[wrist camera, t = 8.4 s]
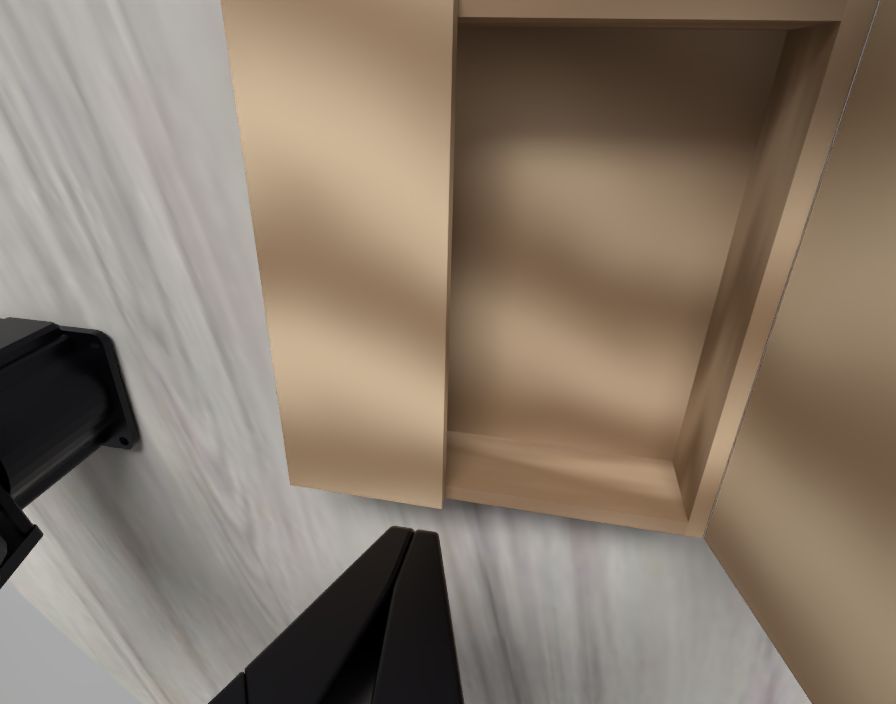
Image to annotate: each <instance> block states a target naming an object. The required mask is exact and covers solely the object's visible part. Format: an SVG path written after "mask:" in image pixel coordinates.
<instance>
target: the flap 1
mask: <svg viewBox="0 0 896 704" xmlns="http://www.w3.org/2000/svg"><path fill="white" fill-rule="evenodd" d="M221 6H222V13H223V20H224V27H225V34H226V41H227V48H228V55H229V62H230V69H231V76H232V83H233V90H234V97H235V103H236V110H237V117H238V124H239V131H240V138H241V145H242V152H243V159H244V166H245V173H246V180H247V187H248V194H249V201H250V208H251V215H252V222H253V229H254V236H255V243H256V250H257V257H258V264H259V271H260V277H261V284H262V291H263V298H264V305H265V312H266V319H267V326H268V333H269V340H270V347H271V354H272V361H273V368H274V375H275V382H276V389H277V396H278V403H279V410H280V417H281V424H282V431H283V438H284V445H285V451H286V458H287V465H288V472H289V479H290V485H294V486H300V487H306V488H313V489H319V490H325V491H331V492H338V493H344V494H350V495H356V496H363V497H369V498H375V499H381V500H387V501H394V502H400V503H406V504H412V505H419V506H425V507H431V508H437V509H442V507H443V503H444V500H445V483H446V444H447V406H448V368H449V330H450V292H451V254H452V216H453V178H454V140H455V102H456V64H457V26H458V0H221Z"/></svg>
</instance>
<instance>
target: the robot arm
mask: <svg viewBox="0 0 896 704" xmlns="http://www.w3.org/2000/svg"><path fill="white" fill-rule="evenodd" d="M96 341H97V342H98V343H97V342H96ZM137 443H138V435H137V432H136V429H135V425H134V422H133V418H132V415H131V412H130V408H129V405H128V401H127V398H126V395H125V391H124V388H123V385H122V381H121V378H120V374H119V371H118V368H117V364H116V361H115V357H114V354H113V351H112V347H111V344H110V341H109V339H108V337H107V336H106V334H105V333H103V332H102V331H99V330H93V329H84V328H76V327H67V326H59V325H58V324H55V323H53V322H46V321H37V320H28V319H20V318H11V317H9V318H6V319H0V589H1V588H2V586H3V585H4V584H5V583H6V581H7V580H8V579H9V578H10V576H11V575H12V574H13V573H14V571H15V570H16V569H17V568H18V566H19V565H20V564H21V563H22V561H23V560H24V559H25V558H26V556H27V555H28V554H29V553H30V551H31V550H32V549H33V548H34V546H35V545H36V544H37V543H38V541H39V540H40V539H41V538H42V536H43V533H42V532H41V530H40V529H39V528H38V526H37V525H35V524H34V525H33V524H32V523H31V521H30V520H29V519H28V518H27V516H26V515H25V514H24V512H23V511H22V509H24V508H25V507H26V506H27V505H29V504H30V503H31V502H32V501H34V500H35V499H36V498H37V497H39V496H40V495H41V494H42V493H44V492H45V491H46V490H47V489H49V488H50V487H51V486H52V485H53V484H55V483H56V482H57V481H58V480H60V479H61V478H62V477H63V476H65V475H66V474H67V473H68V472H70V471H71V470H72V469H73V468H75V467H76V466H77V465H78V464H80V463H81V462H82V461H83V460H85V459H86V458H87V457H88V456H90V455H91V454H92V453H93V452H95V451H96V450H97V449H98V448H100V447H101V446H102V445H103V446H109V447H115V448H122V449H131V448H132V447H134V446H135V445H136V444H137ZM208 704H464V697H463V691H462V684H461V678H460V671H459V665H458V658H457V651H456V645H455V638H454V632H453V625H452V619H451V612H450V606H449V599H448V593H447V586H446V580H445V573H444V566H443V560H442V553H441V547H440V540H439V535H438V533H436V532H432V531H425V530H416V531H414V530H413V529H412V528H406V527H400V526H392V527H390V528H389V529H388V530H387V531H386V532H385V533H384V534H383V535H382V536H381V537H380V538H379V539H378V540H377V541H376V542H375V543H374V544H373V545H371V546H370V547H369V548H368V549H367V550H366V551H365V552H364V553H363V554H362V555H361V556H360V557H359V558H358V559H357V560H356V561H355V562H354V563H353V564H352V565H351V566H350V567H349V568H348V569H347V570H346V571H345V572H344V573H343V574H342V575H341V576H340V577H339V578H338V579H337V580H335V581H334V582H333V583H332V584H331V585H330V586H329V587H328V588H327V589H326V590H325V591H324V592H323V593H322V594H321V595H320V596H319V597H318V598H317V599H316V600H315V601H314V602H313V603H312V604H311V605H310V606H309V607H308V608H307V609H306V610H305V611H304V612H303V613H302V614H301V615H299V616H298V617H297V618H296V619H295V620H294V621H293V622H292V623H291V624H290V625H289V626H288V627H287V628H286V629H285V630H284V631H283V632H282V633H281V634H280V635H279V636H278V637H277V638H276V639H275V640H274V641H273V642H272V643H271V644H270V645H269V646H268V647H267V648H266V649H265V650H263V651H262V652H261V653H260V654H259V655H258V656H257V657H256V658H255V659H254V660H253V661H252V662H251V663H250V664H249V665H248V666H247V667H246V668H245V673H244V672H241V673H239V674H238V675H237V676H236V677H235V678H234V679H233V680H232V681H231V682H230V683H229V684H228V685H227V686H226V687H225V688H224V689H223V690H222V691H221V692H220V693H219V694H218V695H217V696H216V697H214V698H213V699H212V700H211V701H210V702H209V703H208Z"/></svg>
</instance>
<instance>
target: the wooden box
mask: <svg viewBox="0 0 896 704" xmlns="http://www.w3.org/2000/svg"><path fill="white" fill-rule="evenodd" d="M878 1H879V0H458V26H457V64H456V102H455V140H454V178H453V216H452V254H451V292H450V330H449V368H448V406H447V444H446V483H445V498H448V499H454V500H461V501H467V502H474V503H480V504H486V505H493V506H499V507H506V508H512V509H518V510H525V511H531V512H537V513H544V514H550V515H557V516H563V517H569V518H576V519H582V520H588V521H595V522H601V523H608V524H614V525H620V526H627V527H633V528H640V529H646V530H652V531H659V532H665V533H671V534H678V535H684V536H691V537H697V538H703V536H704V533H705V530H706V527H707V523H708V520H709V517H710V514H711V511H712V508H713V505H714V502H715V499H716V496H717V493H718V490H719V487H720V484H721V481H722V478H723V475H724V472H725V468H726V465H727V462H728V459H729V456H730V453H731V450H732V447H733V444H734V441H735V438H736V435H737V432H738V429H739V426H740V423H741V420H742V417H743V413H744V410H745V407H746V404H747V401H748V398H749V395H750V392H751V389H752V386H753V383H754V380H755V377H756V374H757V371H758V368H759V365H760V361H761V358H762V355H763V352H764V349H765V346H766V343H767V340H768V337H769V334H770V331H771V328H772V325H773V322H774V319H775V316H776V313H777V310H778V306H779V303H780V300H781V297H782V294H783V291H784V288H785V285H786V282H787V279H788V276H789V273H790V270H791V267H792V264H793V261H794V258H795V254H796V251H797V248H798V245H799V242H800V239H801V236H802V233H803V230H804V227H805V224H806V221H807V218H808V215H809V212H810V209H811V206H812V203H813V199H814V196H815V193H816V190H817V187H818V184H819V181H820V178H821V175H822V172H823V169H824V166H825V163H826V160H827V157H828V154H829V151H830V148H831V144H832V141H833V138H834V135H835V132H836V129H837V126H838V123H839V120H840V117H841V114H842V111H843V108H844V105H845V102H846V99H847V96H848V92H849V89H850V86H851V83H852V80H853V77H854V74H855V71H856V68H857V65H858V62H859V59H860V56H861V53H862V50H863V47H864V44H865V41H866V37H867V34H868V31H869V28H870V25H871V22H872V19H873V16H874V13H875V10H876V7H877V4H878Z"/></svg>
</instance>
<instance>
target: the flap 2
mask: <svg viewBox="0 0 896 704" xmlns="http://www.w3.org/2000/svg"><path fill="white" fill-rule="evenodd" d="M704 539H705V541H706V542H707V544H708V545H709V547H710V548H711V550H712V552H713V553H714V555H715V556H716V558H717V559H718V561H719V562H720V564H721V565H722V567H723V568H724V570H725V571H726V573H727V574H728V576H729V577H730V579H731V581H732V582H733V584H734V585H735V587H736V588H737V590H738V591H739V593H740V594H741V596H742V597H743V599H744V600H745V602H746V603H747V605H748V607H749V608H750V610H751V611H752V613H753V614H754V616H755V617H756V619H757V620H758V622H759V623H760V625H761V626H762V628H763V629H764V631H765V632H766V634H767V636H768V637H769V639H770V640H771V642H772V643H773V645H774V646H775V648H776V649H777V651H778V652H779V654H780V655H781V657H782V658H783V660H784V661H785V663H786V665H787V666H788V668H789V669H790V671H791V672H792V674H793V675H794V677H795V678H796V680H797V681H798V683H799V684H800V686H801V687H802V689H803V691H804V692H805V694H806V695H807V697H808V698H809V700H810V701H811V703H812V704H896V0H881V1H880V4H879V7H878V10H877V13H876V16H875V19H874V23H873V26H872V29H871V32H870V35H869V38H868V41H867V44H866V47H865V50H864V53H863V56H862V59H861V62H860V65H859V68H858V71H857V74H856V77H855V80H854V83H853V86H852V89H851V92H850V96H849V99H848V102H847V105H846V108H845V111H844V114H843V117H842V120H841V123H840V126H839V129H838V132H837V135H836V138H835V141H834V144H833V147H832V150H831V153H830V156H829V159H828V162H827V166H826V169H825V172H824V175H823V178H822V181H821V184H820V187H819V190H818V193H817V196H816V199H815V202H814V205H813V208H812V211H811V214H810V217H809V220H808V223H807V226H806V229H805V232H804V235H803V239H802V242H801V245H800V248H799V251H798V254H797V257H796V260H795V263H794V266H793V269H792V272H791V275H790V278H789V281H788V284H787V287H786V290H785V293H784V296H783V299H782V302H781V305H780V309H779V312H778V315H777V318H776V321H775V324H774V327H773V330H772V333H771V336H770V339H769V342H768V345H767V348H766V351H765V354H764V357H763V360H762V363H761V366H760V369H759V372H758V375H757V378H756V382H755V385H754V388H753V391H752V394H751V397H750V400H749V403H748V406H747V409H746V412H745V415H744V418H743V421H742V424H741V427H740V430H739V433H738V436H737V439H736V442H735V445H734V448H733V452H732V455H731V458H730V461H729V464H728V467H727V470H726V473H725V476H724V479H723V482H722V485H721V488H720V491H719V494H718V497H717V500H716V503H715V506H714V509H713V512H712V515H711V518H710V521H709V525H708V528H707V531H706V534H705V537H704Z"/></svg>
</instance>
